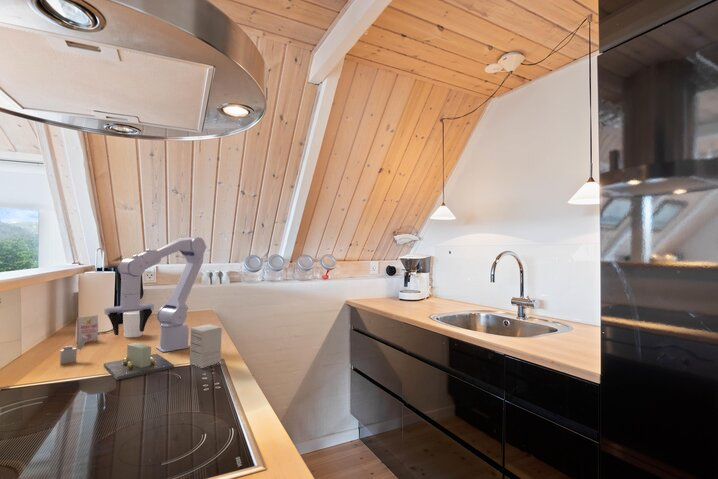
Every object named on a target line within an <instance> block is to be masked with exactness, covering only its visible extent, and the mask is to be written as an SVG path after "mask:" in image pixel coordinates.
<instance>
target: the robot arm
mask: <svg viewBox="0 0 718 479" xmlns="http://www.w3.org/2000/svg"><path fill="white" fill-rule="evenodd" d="M206 249H207V245H206V242H205V240H204V239H203V238H202V237H192V236H191V237H189V236H188V237H187V236H182V237H179V238H176V239H175V240H173V241H171V242H169V243H167V244H165V245H164V246H162V247H160V248H158V249H154V248H146V249H145V250H144V252H142V253H139V254H134V255H132V258H125V259H124V258H123V260H121V262H120V263H119V265H118V266H117V271H118V273H119V274H120V279H121V280H120V305H119V306H118V305H117V306H111V307H104V309H103V310H104V312H103V313H104V315H106V316H107V317H108V318H109V321H110V324H111V326H112V329H113V334H114V335H115V336H119V332H120V331H119V330H120V328H119V325H120V318H121V316H120V315H119V314H121V313H122V314H123V313H124V312H133V311H139V314H140V326H139V329H140V331H141V332H144V330H145V327H146V324H147V322H148V319H150V316H151V314H152V310H153V311H154V309H155V304H154V303H142V304H141V282H142V281H141V279H142V278H141V277H142V275H143V274H144V273H145V270H147V269H150V268H151V267H153V266H155V265H157V264H159V263H160V262H162V259H163V258H165V257H167V256H169V255H172V254H174V253H177V252H180V254H181V255H182V256H183V257H184V259H185V260H186V264H185V265H184V268H183V270H182V272H181V275H180V277H179V280H178V281H177V284H176V286H175V288H174V291H173V293H172V295H171V297H170V298H169V299H167V300H166V301H164V303H163V305H162V306H161V307H160V308H159V310H158V311H157V312H156V320H157V321H158V322H159V326H160V335H159V336H160V339H159V345H158V346H155V348H156V349H157V350H159V351H161V352H162V353H166V352H172V351H177V350H182V349H188V348H189V349H190V345H189V339H190V338H189V335H190V331H189V326H188V324H187V323H186V322H185V321H187V320H186V319H187V315H188V314H187V312H188V310H189V307H188V306H187V304H186V302H187V299H188V297H189V294H190V293H191V290H192V289H193V288H192V287H193V286H194V284H195V281H196V279H197V277H198V274H199V272H200V269H201V267H202V265H203V263H204V255H205V252H206Z"/></svg>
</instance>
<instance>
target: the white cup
mask: <svg viewBox="0 0 718 479" xmlns="http://www.w3.org/2000/svg"><path fill="white" fill-rule="evenodd" d="M122 320H123V321H122V324H123V328H122V329H123V337H124V338H131V339H132V338H137V337H141V336H143V334H144V333H143V332H144V331H143V332H141V331H140V329H139V326H140V314H139V311H133V312H123V313H122Z"/></svg>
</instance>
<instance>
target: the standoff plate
mask: <svg viewBox="0 0 718 479" xmlns="http://www.w3.org/2000/svg"><path fill="white" fill-rule="evenodd" d="M103 367H104V369H106V371H107V372H109V373H110V375H111V376H112V377H113V378H115V380H116V381H119V380H123V379H129V378H133V377H139V376H143V375H147V374H151V373H157V372H161V371H165V370H166V369H167V370H171V369H174V368H175V365H174V364H173V363H172V362H170V361H169V360H168V359H166V358H164V357H163V356H162V355H161V354H159V353H153V354H152V353H151V365H149V366H145V367H142V368H141V367H138V366H135V365H133V361H129V362H128V357H127V356H126V357H123V358H122V359H119V360H115V361H109V362H103ZM170 368H171V369H170ZM167 370H166V371H167Z"/></svg>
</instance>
